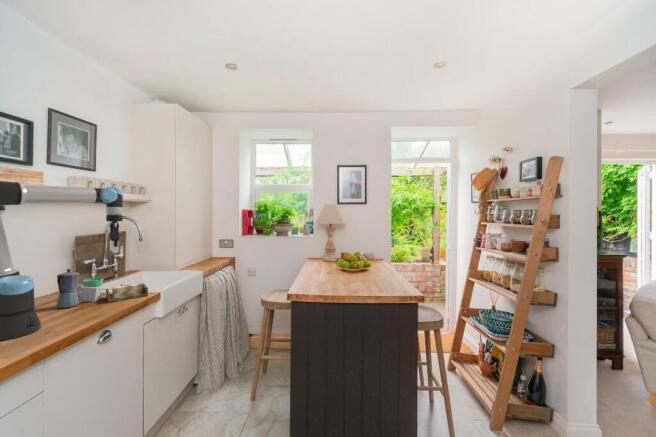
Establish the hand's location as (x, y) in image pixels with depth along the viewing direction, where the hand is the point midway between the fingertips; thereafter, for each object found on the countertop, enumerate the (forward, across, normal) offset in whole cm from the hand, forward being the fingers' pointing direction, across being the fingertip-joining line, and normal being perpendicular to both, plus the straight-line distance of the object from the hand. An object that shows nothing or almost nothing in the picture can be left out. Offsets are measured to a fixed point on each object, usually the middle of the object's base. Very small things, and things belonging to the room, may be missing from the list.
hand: (114, 251), depth 161 cm
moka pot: (+29, +5, +19) cm, 35 cm away
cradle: (+28, +4, -7) cm, 29 cm away
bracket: (+29, +10, +11) cm, 32 cm away
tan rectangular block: (+27, +4, -7) cm, 28 cm away
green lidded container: (+28, +24, +7) cm, 38 cm away
